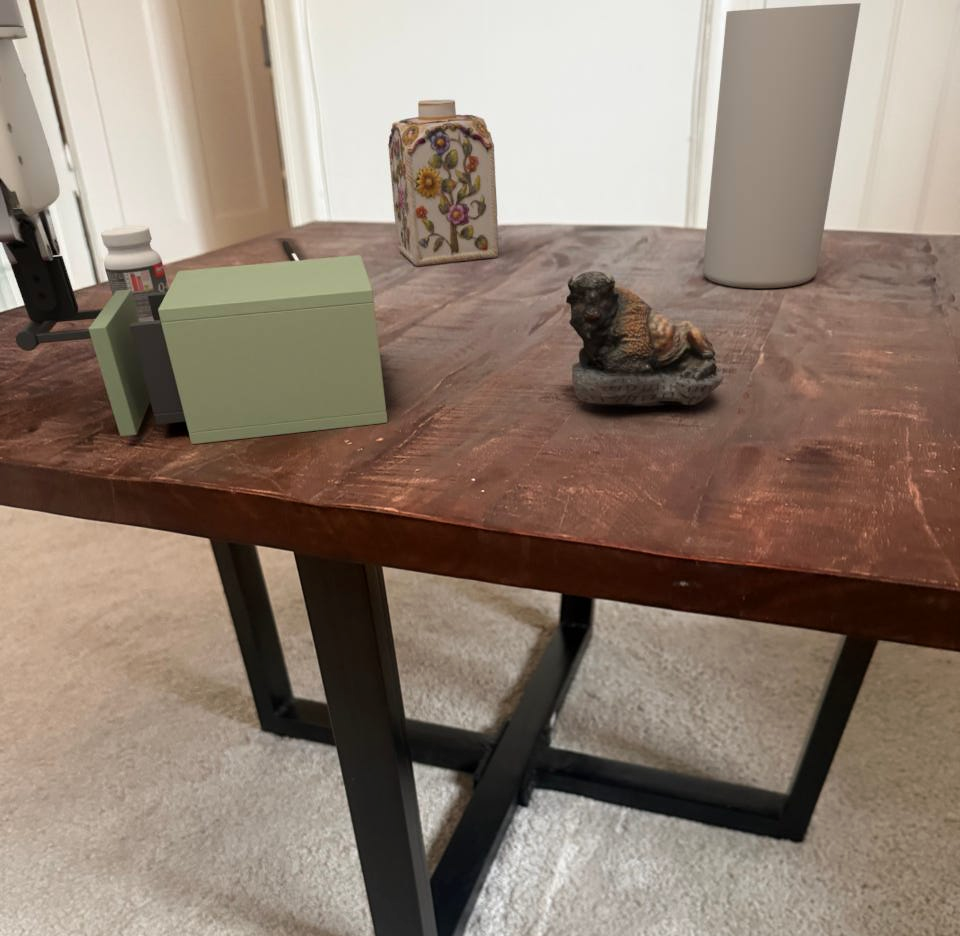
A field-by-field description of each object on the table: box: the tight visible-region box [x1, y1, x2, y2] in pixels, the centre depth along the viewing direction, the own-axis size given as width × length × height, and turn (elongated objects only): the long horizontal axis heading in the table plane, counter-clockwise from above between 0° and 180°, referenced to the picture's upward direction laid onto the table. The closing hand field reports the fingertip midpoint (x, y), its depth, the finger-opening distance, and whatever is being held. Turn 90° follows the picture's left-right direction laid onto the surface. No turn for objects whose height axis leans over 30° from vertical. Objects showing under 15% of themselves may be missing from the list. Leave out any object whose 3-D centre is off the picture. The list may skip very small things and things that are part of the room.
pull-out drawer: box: [14, 290, 186, 438], centre depth 68 cm, size 19×12×8 cm, turn 100°
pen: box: [281, 240, 300, 261], centre depth 121 cm, size 1×19×1 cm, turn 17°
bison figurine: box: [565, 270, 724, 408], centre depth 64 cm, size 12×7×10 cm, turn 97°
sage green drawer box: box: [158, 254, 388, 445], centre depth 69 cm, size 15×13×10 cm
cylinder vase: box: [702, 2, 861, 289], centre depth 92 cm, size 12×12×25 cm
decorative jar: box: [387, 99, 499, 267], centre depth 113 cm, size 12×12×18 cm
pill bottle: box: [100, 225, 169, 322], centre depth 90 cm, size 6×6×10 cm
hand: (55, 316), depth 65 cm, fingers closed
